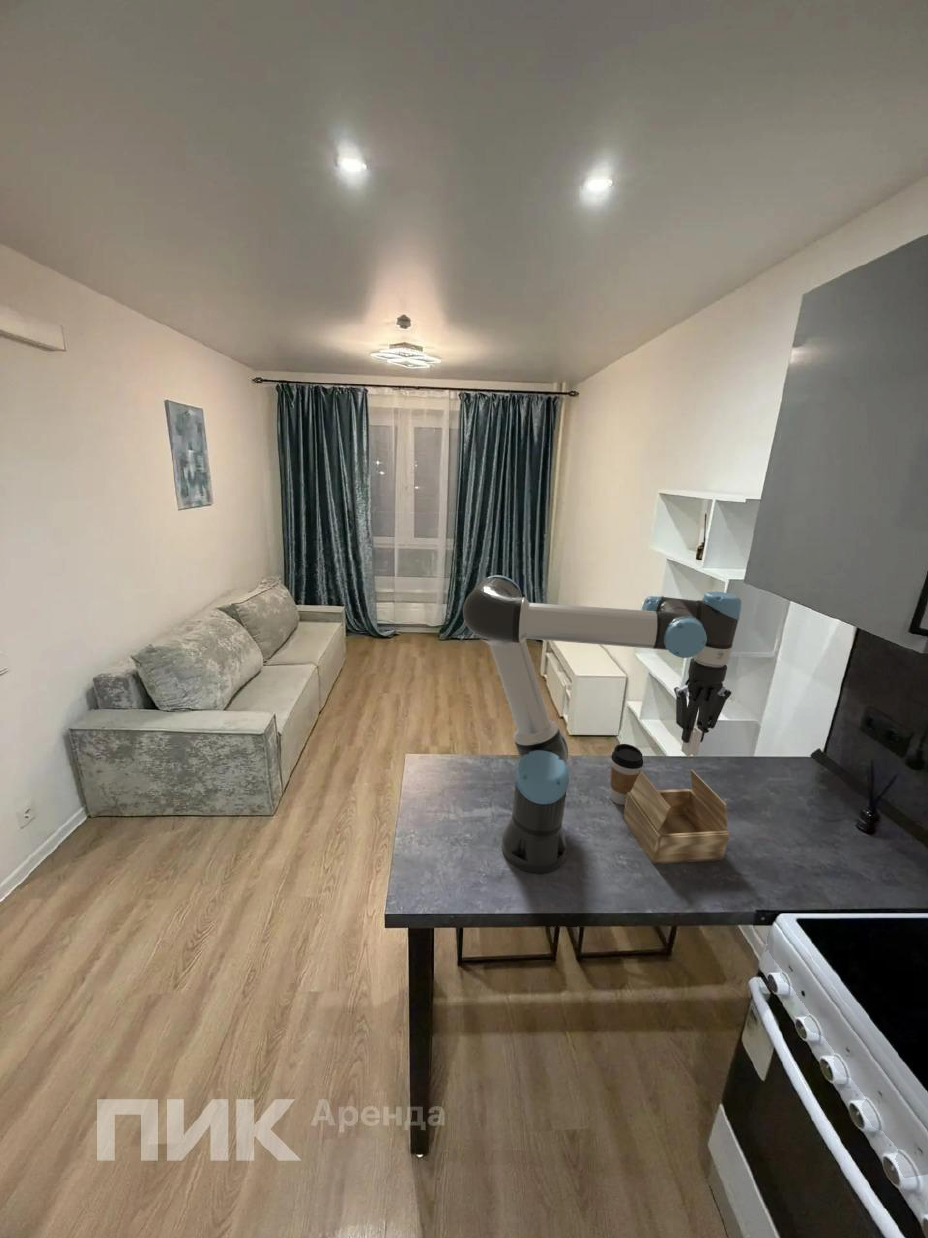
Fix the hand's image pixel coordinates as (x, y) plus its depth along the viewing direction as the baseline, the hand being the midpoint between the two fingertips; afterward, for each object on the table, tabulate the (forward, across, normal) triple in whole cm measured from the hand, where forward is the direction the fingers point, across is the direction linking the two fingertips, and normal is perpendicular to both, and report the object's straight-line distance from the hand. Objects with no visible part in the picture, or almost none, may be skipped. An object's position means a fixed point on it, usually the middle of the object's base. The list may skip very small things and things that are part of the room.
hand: (689, 753), depth 118 cm
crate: (+24, 0, 0) cm, 24 cm away
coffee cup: (+25, -6, +16) cm, 30 cm away
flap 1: (+16, -9, 0) cm, 18 cm away
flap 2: (+16, +9, 0) cm, 18 cm away
